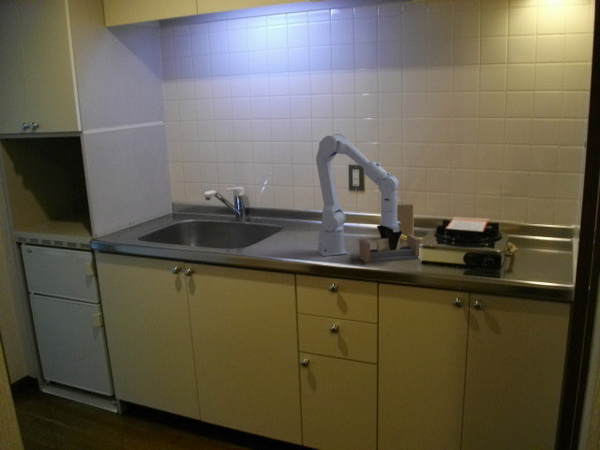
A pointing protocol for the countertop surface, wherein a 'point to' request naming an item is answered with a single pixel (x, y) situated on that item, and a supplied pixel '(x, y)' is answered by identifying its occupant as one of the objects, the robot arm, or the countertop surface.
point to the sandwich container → (405, 219)
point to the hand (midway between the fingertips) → (389, 247)
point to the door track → (404, 253)
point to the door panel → (385, 245)
